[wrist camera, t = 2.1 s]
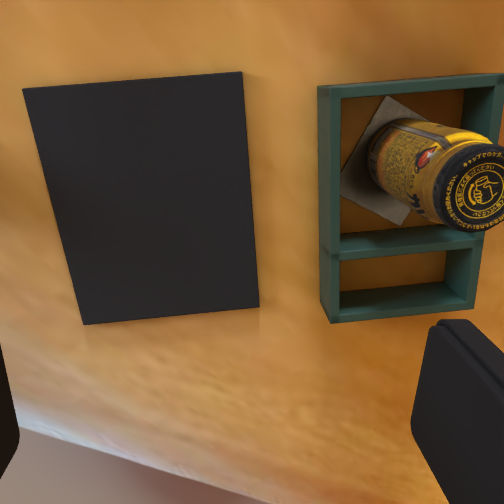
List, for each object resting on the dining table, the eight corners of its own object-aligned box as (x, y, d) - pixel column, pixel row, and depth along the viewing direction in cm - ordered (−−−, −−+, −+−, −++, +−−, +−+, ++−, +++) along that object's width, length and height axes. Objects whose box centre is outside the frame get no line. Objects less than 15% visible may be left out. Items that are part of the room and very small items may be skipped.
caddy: (317, 86, 33) (329, 87, 29) (476, 73, 34) (508, 73, 30) (319, 301, 40) (330, 324, 37) (450, 288, 41) (473, 309, 37)
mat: (24, 88, 32) (21, 88, 31) (241, 71, 32) (242, 71, 32) (85, 322, 39) (83, 325, 39) (259, 304, 40) (259, 307, 39)
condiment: (457, 137, 35) (566, 166, 24) (399, 225, 38) (474, 287, 27) (385, 94, 34) (467, 104, 23) (329, 189, 36) (379, 240, 25)
